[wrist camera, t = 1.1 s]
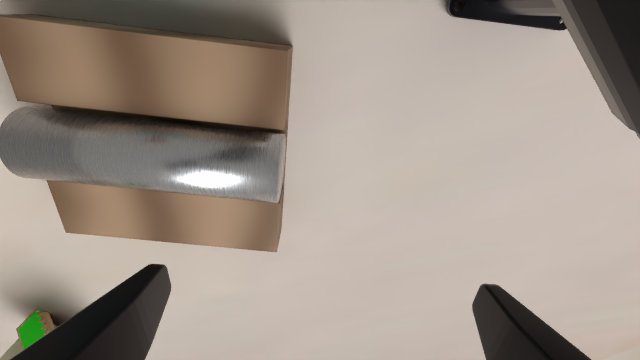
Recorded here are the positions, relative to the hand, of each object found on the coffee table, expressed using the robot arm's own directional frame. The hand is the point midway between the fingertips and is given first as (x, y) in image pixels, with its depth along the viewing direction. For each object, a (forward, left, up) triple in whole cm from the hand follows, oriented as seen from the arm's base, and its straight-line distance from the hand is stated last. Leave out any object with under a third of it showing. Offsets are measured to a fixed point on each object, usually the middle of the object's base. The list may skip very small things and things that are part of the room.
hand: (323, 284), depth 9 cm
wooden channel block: (+9, +1, -12) cm, 15 cm away
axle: (+9, +1, -10) cm, 14 cm away
